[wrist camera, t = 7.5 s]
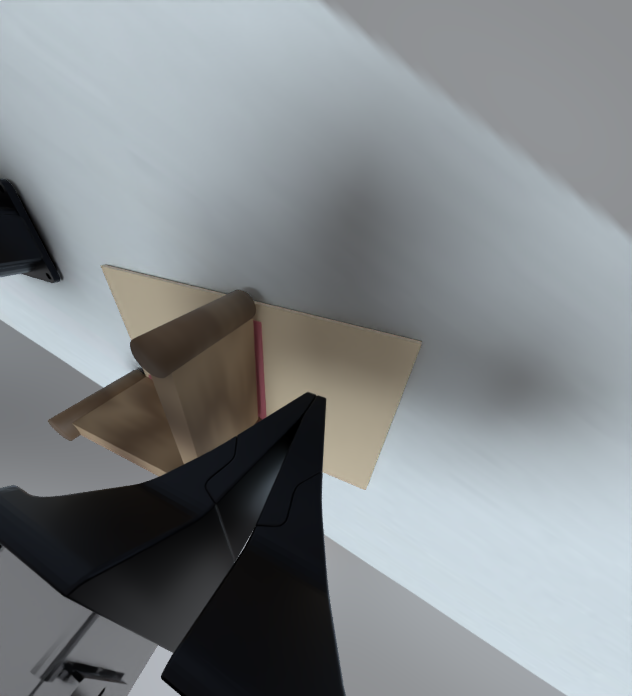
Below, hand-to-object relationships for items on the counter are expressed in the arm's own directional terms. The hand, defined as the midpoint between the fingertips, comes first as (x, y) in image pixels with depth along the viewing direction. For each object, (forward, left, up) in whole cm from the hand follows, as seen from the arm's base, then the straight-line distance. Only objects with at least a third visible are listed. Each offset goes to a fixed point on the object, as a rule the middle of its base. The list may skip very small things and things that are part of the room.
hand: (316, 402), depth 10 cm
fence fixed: (-12, -8, -4) cm, 15 cm away
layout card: (-7, -4, -4) cm, 9 cm away
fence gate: (-5, -2, -3) cm, 6 cm away
